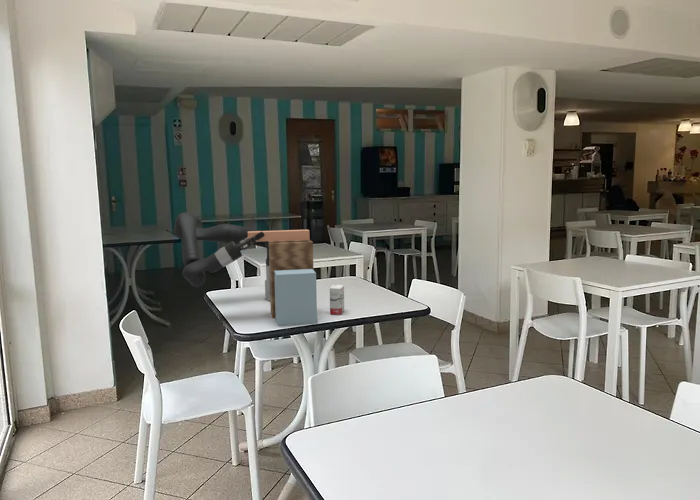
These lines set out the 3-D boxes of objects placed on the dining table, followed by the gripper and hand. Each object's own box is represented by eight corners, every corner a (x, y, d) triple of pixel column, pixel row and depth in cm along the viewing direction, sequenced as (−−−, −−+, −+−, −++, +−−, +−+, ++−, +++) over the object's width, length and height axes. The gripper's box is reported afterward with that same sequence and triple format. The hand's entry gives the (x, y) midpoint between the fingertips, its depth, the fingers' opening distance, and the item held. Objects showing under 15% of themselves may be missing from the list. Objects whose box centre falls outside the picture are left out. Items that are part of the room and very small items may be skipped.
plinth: (272, 318, 234) (270, 243, 230) (270, 312, 244) (268, 240, 240) (314, 315, 238) (312, 242, 234) (310, 309, 248) (309, 239, 244)
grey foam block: (277, 326, 222) (276, 274, 219) (275, 319, 232) (274, 270, 229) (317, 323, 225) (316, 272, 223) (313, 317, 235) (312, 268, 232)
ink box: (340, 315, 238) (340, 288, 237) (329, 314, 239) (329, 288, 238) (344, 310, 247) (344, 284, 245) (334, 309, 248) (333, 284, 246)
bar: (248, 241, 231) (248, 232, 230) (247, 240, 235) (247, 231, 234) (309, 239, 236) (309, 230, 236) (308, 238, 240) (308, 229, 240)
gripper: (223, 249, 224) (259, 226, 226) (223, 244, 238) (257, 223, 240) (233, 264, 226) (269, 242, 228) (232, 259, 239) (266, 238, 241)
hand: (263, 232), depth 234 cm, fingers closed on bar, 4 cm apart
